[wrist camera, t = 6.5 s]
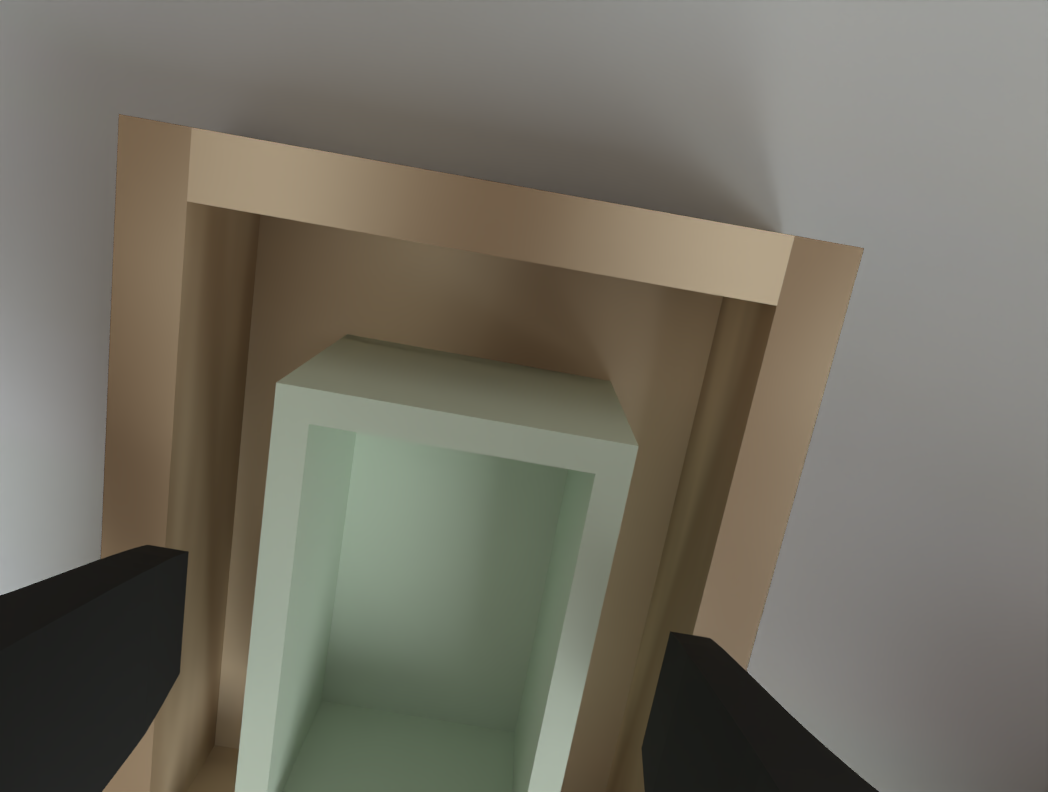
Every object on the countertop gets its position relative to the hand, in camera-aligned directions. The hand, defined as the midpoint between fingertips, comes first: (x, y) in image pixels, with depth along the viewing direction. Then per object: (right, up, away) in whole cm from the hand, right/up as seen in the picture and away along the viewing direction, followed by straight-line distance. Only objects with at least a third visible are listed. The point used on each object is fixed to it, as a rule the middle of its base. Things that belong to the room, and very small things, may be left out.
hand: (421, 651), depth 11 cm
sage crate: (0, +1, +4) cm, 4 cm away
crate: (0, +1, +4) cm, 5 cm away
